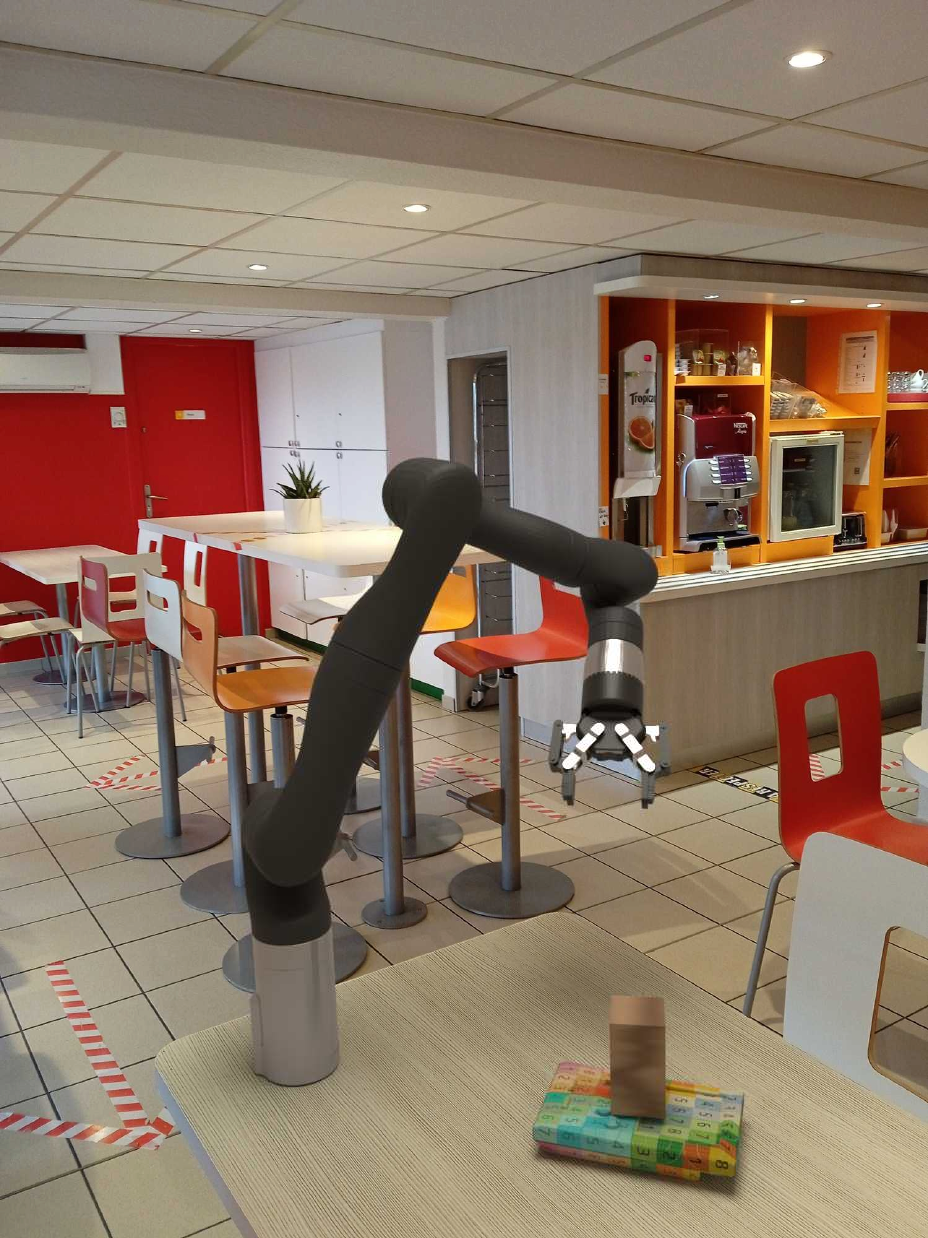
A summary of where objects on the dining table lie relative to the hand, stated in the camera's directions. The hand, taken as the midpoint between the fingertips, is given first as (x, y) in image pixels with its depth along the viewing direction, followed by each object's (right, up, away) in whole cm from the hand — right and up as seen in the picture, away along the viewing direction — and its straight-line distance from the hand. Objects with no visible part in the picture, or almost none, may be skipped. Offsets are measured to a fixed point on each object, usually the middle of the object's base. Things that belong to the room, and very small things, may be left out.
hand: (607, 804), depth 118 cm
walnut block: (+2, -29, -12) cm, 31 cm away
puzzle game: (+2, -33, -11) cm, 35 cm away
